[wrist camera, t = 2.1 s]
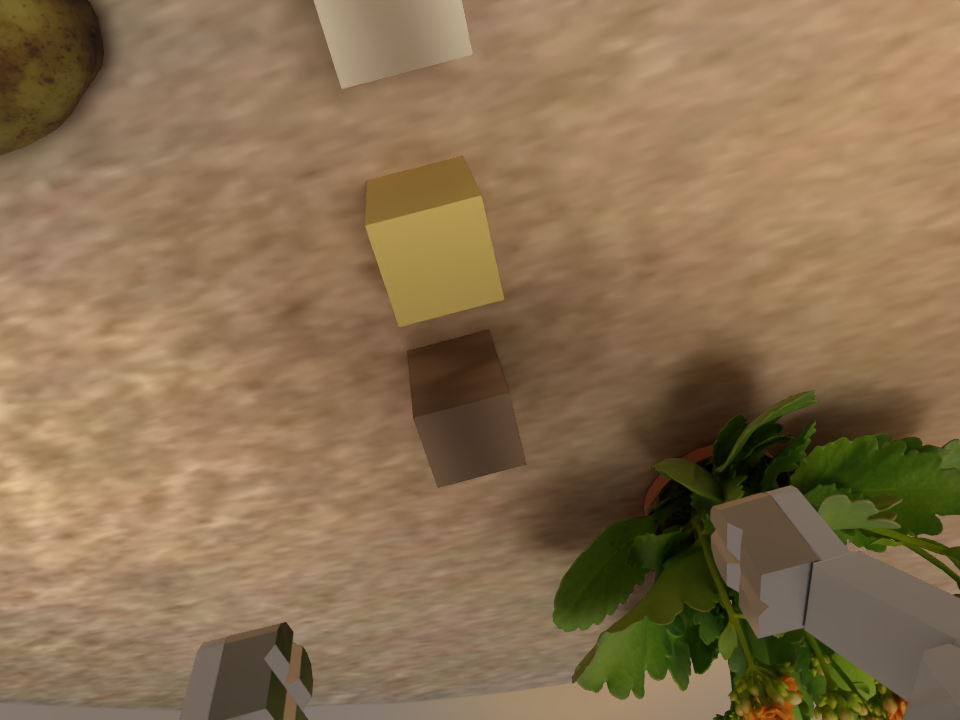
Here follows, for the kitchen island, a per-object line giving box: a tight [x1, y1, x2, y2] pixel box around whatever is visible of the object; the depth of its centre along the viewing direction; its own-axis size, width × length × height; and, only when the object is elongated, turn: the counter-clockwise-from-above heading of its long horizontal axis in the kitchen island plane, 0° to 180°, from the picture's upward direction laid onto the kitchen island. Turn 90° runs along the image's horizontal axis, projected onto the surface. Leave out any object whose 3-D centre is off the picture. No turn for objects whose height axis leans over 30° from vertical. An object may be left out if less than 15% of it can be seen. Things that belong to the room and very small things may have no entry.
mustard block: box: [365, 156, 504, 327], centre depth 27 cm, size 4×4×6 cm
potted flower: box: [553, 390, 960, 720], centre depth 35 cm, size 25×24×18 cm
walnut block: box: [407, 330, 526, 488], centre depth 32 cm, size 4×4×6 cm
